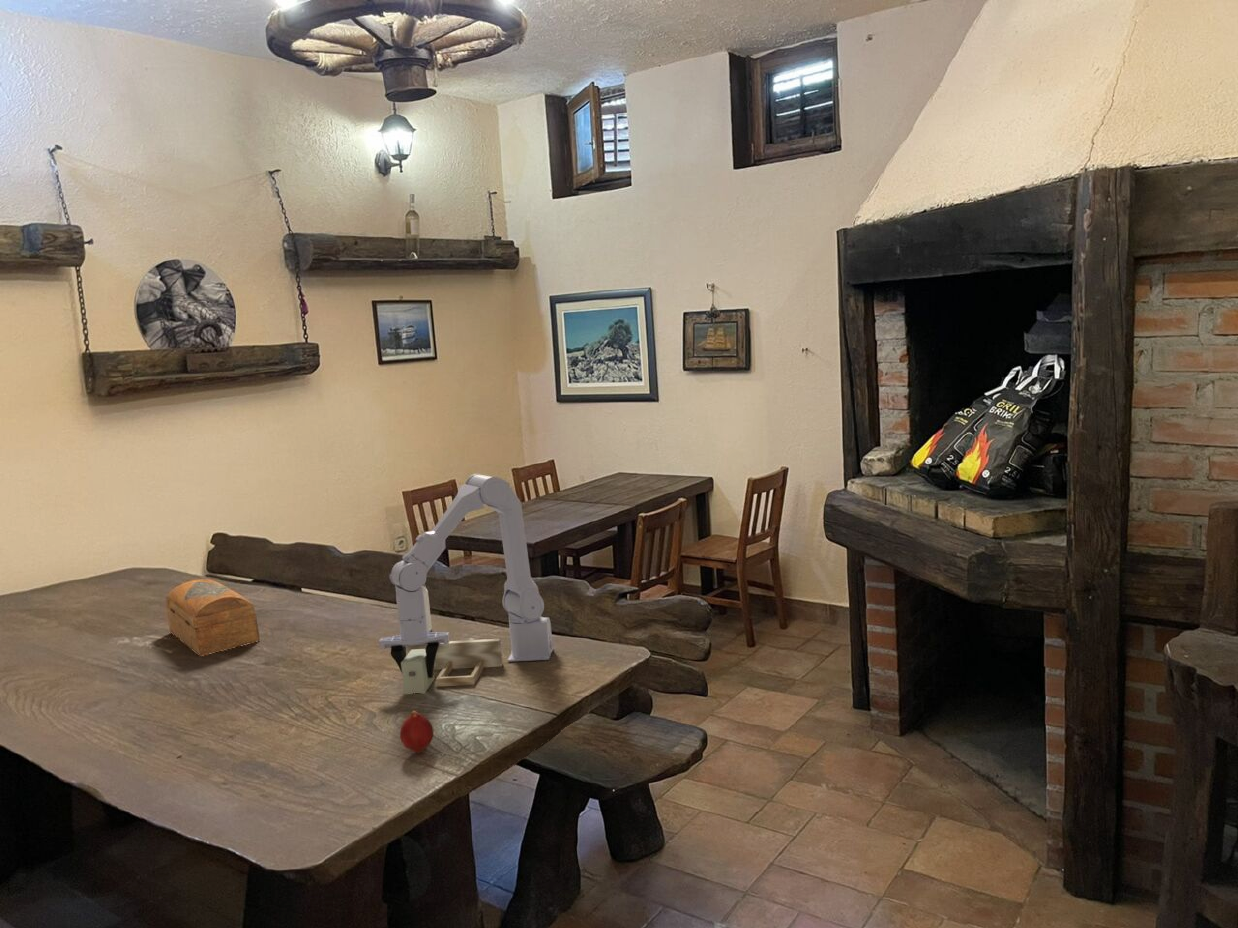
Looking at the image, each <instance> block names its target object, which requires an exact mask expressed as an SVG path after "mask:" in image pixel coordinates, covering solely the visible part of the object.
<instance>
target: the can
mask: <svg viewBox="0 0 1238 928" xmlns="http://www.w3.org/2000/svg"><path fill="white" fill-rule="evenodd" d="M422 587H423V594H424V604H425V613H426V622H427V631H428V632H432V631H431V630H432V627H433V626H432V617H431V608H430V599H429V590H428V589H427V588H426V584H424V585H422Z"/></svg>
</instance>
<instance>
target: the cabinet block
mask: <svg viewBox="0 0 1238 928" xmlns="http://www.w3.org/2000/svg"><path fill="white" fill-rule="evenodd" d="M425 649H426V648H418V649H417V648H416V649H415V648H414V649H410V651H409V652H408V654H406V657H405V658H404V660H403V661H402V662H401V668H402V673H401V676H402V685H403V692H404V693H403V694H404V695H416V694H415V693H421V694H425V693H427V690H428V689H430V687H431V685H432V683H434V681H435V670H433V677H432V678H429V675H428V662H427V656H426V651H425ZM413 693H414V694H413Z"/></svg>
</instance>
